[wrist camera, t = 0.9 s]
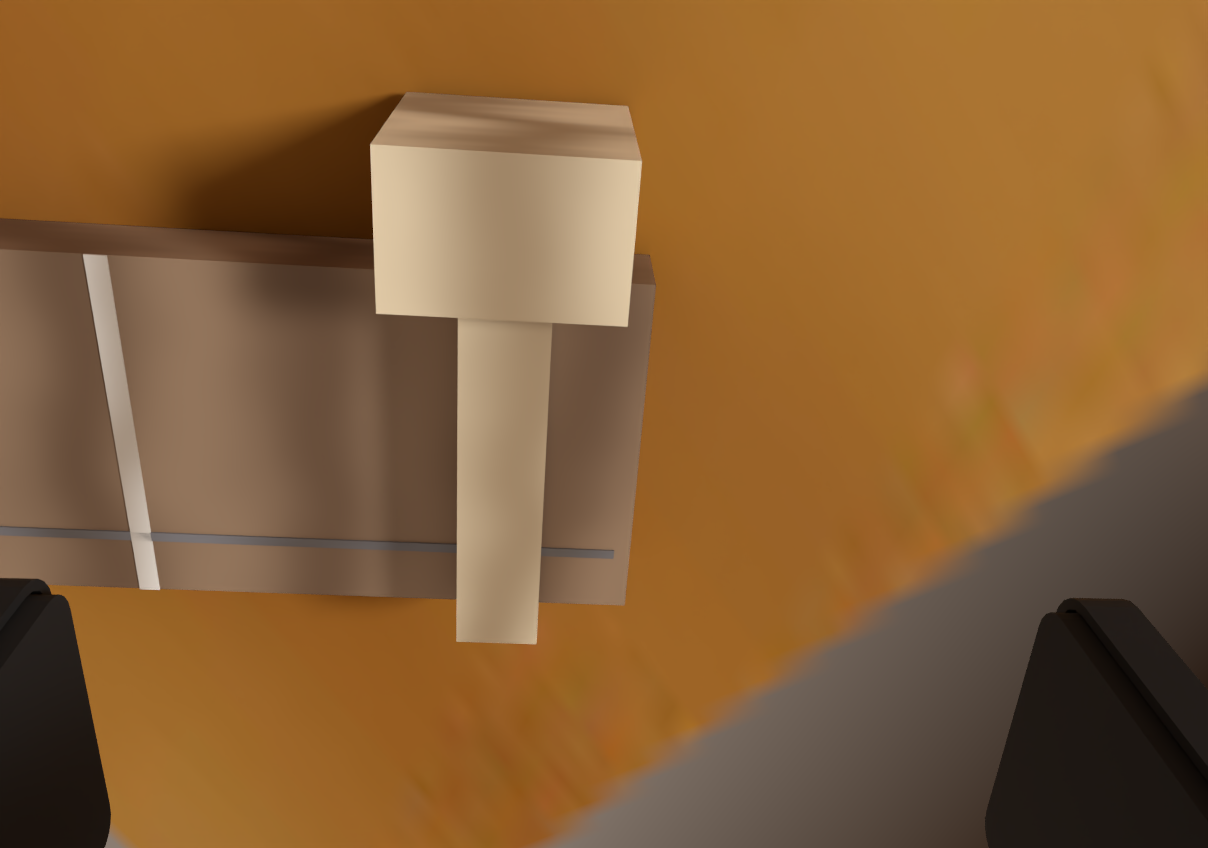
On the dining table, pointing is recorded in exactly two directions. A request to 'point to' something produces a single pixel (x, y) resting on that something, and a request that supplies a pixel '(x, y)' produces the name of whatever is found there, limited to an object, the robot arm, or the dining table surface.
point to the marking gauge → (503, 297)
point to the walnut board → (276, 421)
